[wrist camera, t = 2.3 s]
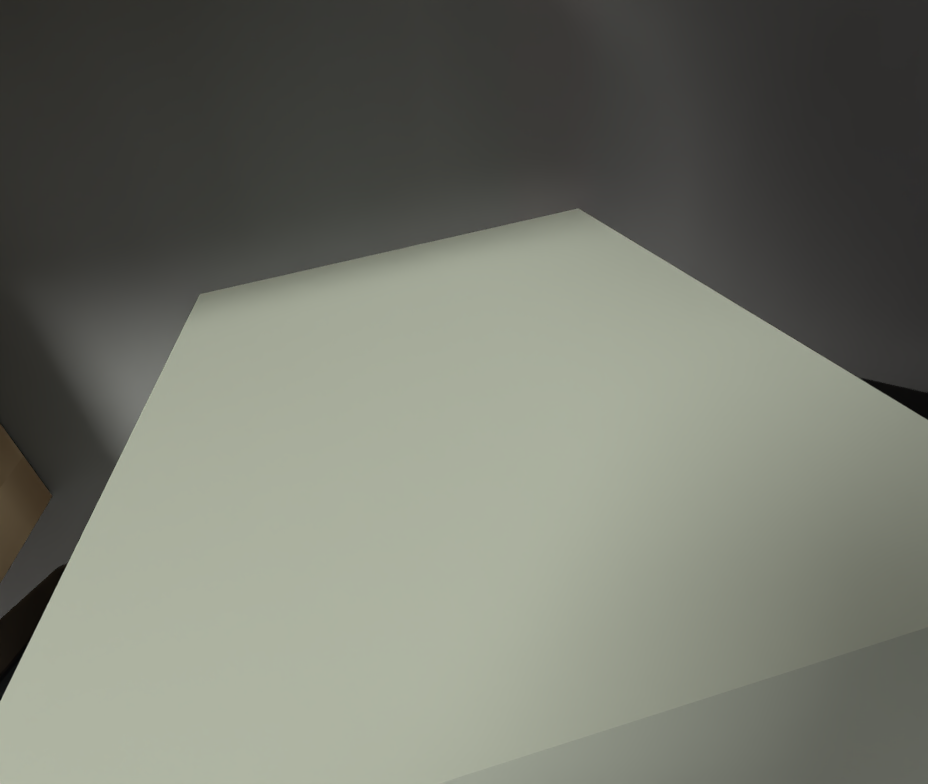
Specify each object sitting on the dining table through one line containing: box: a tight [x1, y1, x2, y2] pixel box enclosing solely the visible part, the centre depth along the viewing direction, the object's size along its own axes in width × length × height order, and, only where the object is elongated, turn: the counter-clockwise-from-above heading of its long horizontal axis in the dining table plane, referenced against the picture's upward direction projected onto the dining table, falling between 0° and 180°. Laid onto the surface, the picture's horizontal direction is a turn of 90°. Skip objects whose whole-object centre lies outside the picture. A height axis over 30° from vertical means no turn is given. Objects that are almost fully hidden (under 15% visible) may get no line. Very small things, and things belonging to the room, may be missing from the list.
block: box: [0, 209, 928, 784], centre depth 7 cm, size 6×6×7 cm
